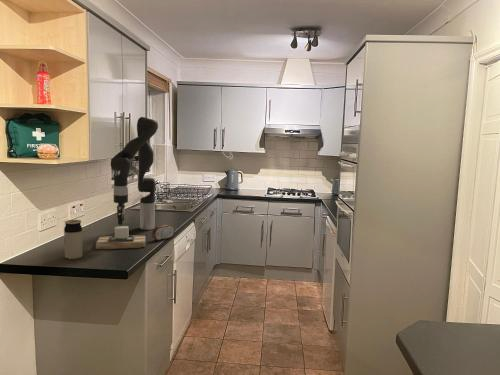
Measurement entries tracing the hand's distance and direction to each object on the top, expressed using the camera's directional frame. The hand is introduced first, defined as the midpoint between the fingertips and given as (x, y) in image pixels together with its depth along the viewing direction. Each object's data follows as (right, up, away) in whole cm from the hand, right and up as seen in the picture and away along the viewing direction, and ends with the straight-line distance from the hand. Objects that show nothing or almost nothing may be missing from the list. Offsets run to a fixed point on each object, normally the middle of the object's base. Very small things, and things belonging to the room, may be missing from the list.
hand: (121, 222), depth 216 cm
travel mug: (-16, -15, -23) cm, 32 cm away
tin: (+20, -11, +16) cm, 28 cm away
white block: (0, -9, +1) cm, 9 cm away
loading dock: (0, -12, +1) cm, 12 cm away
